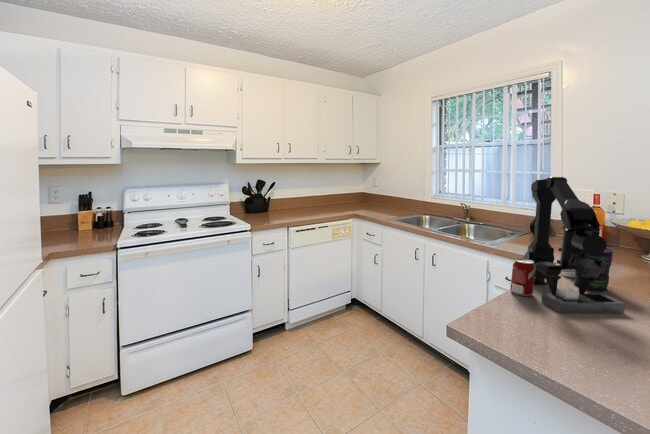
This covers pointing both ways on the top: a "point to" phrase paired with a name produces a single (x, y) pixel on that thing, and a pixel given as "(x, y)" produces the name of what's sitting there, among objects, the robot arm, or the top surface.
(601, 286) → the storage jar
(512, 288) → the soda can
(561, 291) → the grey foam cube
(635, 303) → the top surface
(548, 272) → the robot arm
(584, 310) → the tray
